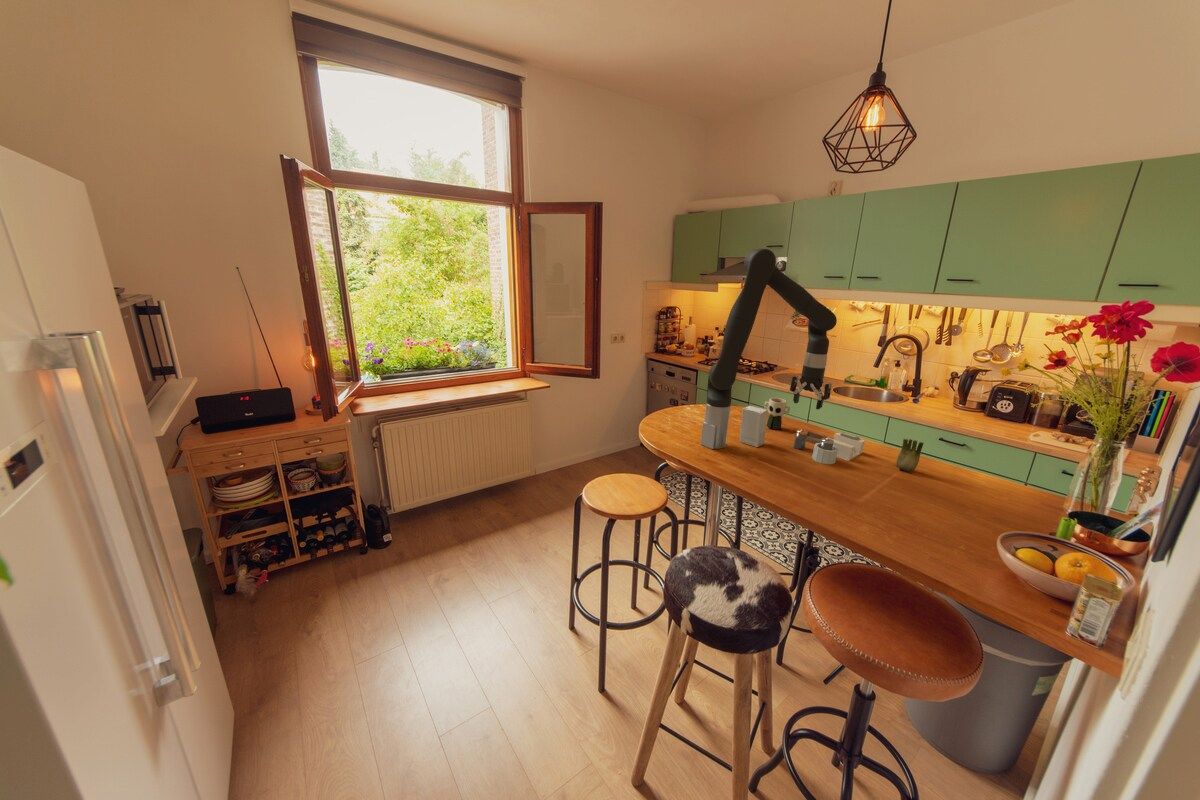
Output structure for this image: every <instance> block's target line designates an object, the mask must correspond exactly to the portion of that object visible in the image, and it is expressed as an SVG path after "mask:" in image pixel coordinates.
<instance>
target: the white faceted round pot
mask: <svg viewBox="0 0 1200 800" xmlns="http://www.w3.org/2000/svg"><path fill="white" fill-rule="evenodd" d="M820 444H821V443H816V444H814V446H813V447H814V448H813V451H812V455H811V456H812V457H811V458H812V460H813V461H815V462H816V463H820V464H823V465H834V464H835V463H836V460H837V458H838V457H837V452H838V448H837V447H835V446H834V445H833V447H832V450H830V451H829V450H824V449H821V448H820Z"/></svg>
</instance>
